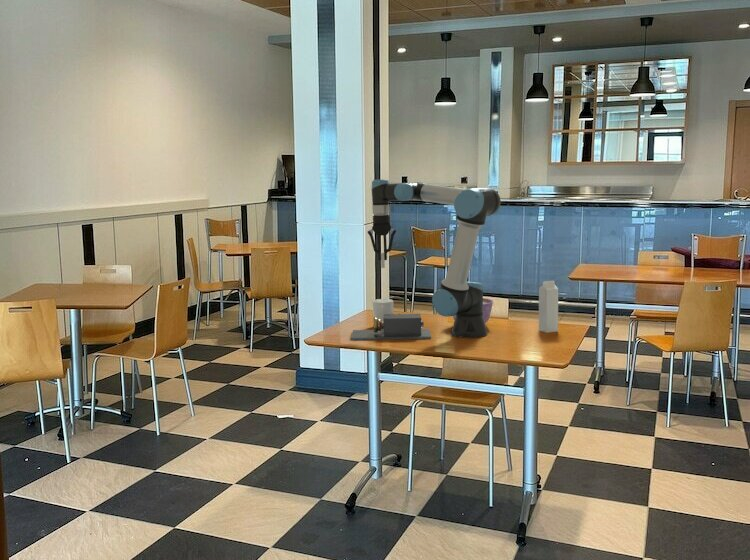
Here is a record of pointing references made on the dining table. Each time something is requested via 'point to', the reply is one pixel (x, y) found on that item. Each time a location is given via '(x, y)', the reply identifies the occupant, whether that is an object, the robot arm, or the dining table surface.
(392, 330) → the bearing block
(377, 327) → the shaft
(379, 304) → the candle holder
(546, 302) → the milk
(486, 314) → the bowl of food
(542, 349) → the dining table surface
